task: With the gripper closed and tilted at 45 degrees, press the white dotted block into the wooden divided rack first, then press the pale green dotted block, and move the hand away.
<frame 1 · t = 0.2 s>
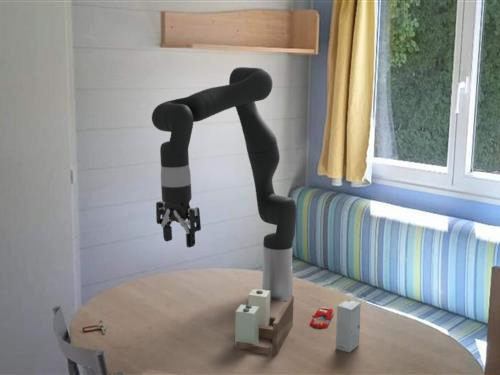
hand: (179, 243, 165), 28 cm above the table, tool pointing down, fingers open, 8 cm apart
wooden divided rack: (253, 339, 174), on the table
race car: (321, 325, 185), on the table
skincare box: (347, 347, 171), on the table
white dotted block 1: (259, 309, 179), point 6 cm above the table, slide at 0.0 cm
pale green dotted block 2: (247, 326, 167), point 6 cm above the table, slide at 0.0 cm
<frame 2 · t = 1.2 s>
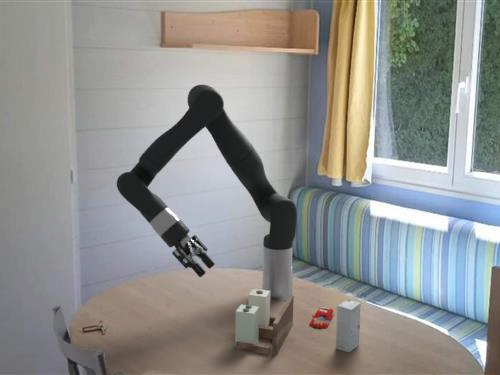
hand: (207, 270, 181), 16 cm above the table, tool tilted 45°, fingers open, 7 cm apart
nothing on the table moved.
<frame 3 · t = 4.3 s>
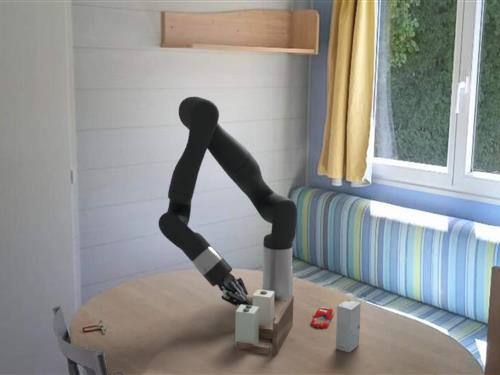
hand: (252, 311, 179), 5 cm above the table, tool tilted 45°, fingers closed
white dotted block 1: (263, 309, 178), point 6 cm above the table, slide at 1.2 cm, touching gripper
everything else where it was.
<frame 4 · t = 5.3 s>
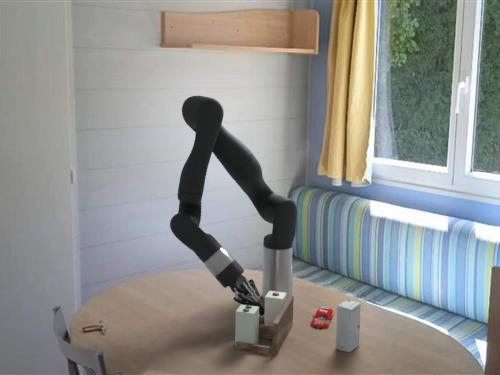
hand: (264, 313, 178), 5 cm above the table, tool tilted 45°, fingers closed
white dotted block 1: (275, 311, 177), point 6 cm above the table, slide at 4.7 cm, touching gripper
everything else where it was.
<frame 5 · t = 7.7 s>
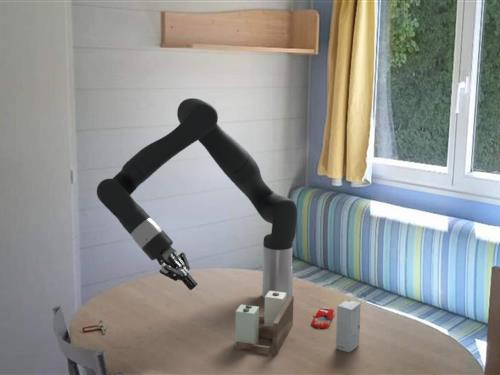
hand: (194, 287, 169), 15 cm above the table, tool tilted 45°, fingers closed
white dotted block 1: (275, 311, 177), point 6 cm above the table, slide at 4.7 cm
everything else where it was.
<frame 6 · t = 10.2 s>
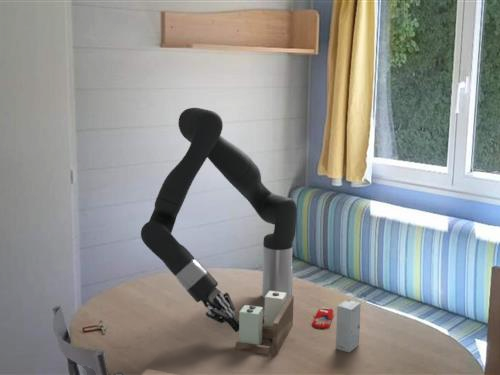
hand: (239, 329, 168), 5 cm above the table, tool tilted 45°, fingers closed
pale green dotted block 2: (250, 326, 167), point 6 cm above the table, slide at 1.0 cm, touching gripper
everything else where it was.
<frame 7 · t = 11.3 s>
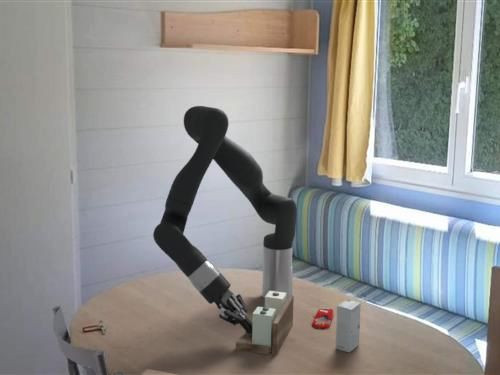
hand: (252, 331, 167), 5 cm above the table, tool tilted 45°, fingers closed
pale green dotted block 2: (264, 328, 166), point 6 cm above the table, slide at 4.6 cm, touching gripper
everything else where it was.
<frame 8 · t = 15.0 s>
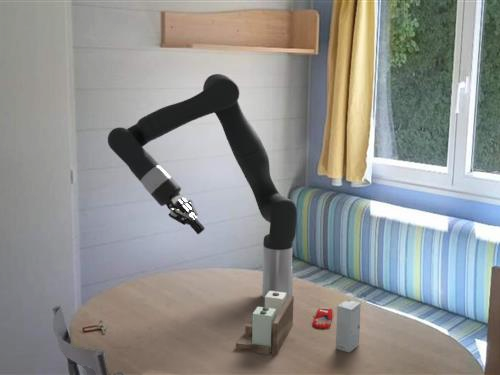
hand: (201, 231, 177), 28 cm above the table, tool tilted 45°, fingers closed
pale green dotted block 2: (264, 328, 166), point 6 cm above the table, slide at 4.6 cm
everything else where it was.
at the end: white dotted block 1 slide at 4.7 cm; pale green dotted block 2 slide at 4.6 cm; race car moved 0.7 cm from its start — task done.
